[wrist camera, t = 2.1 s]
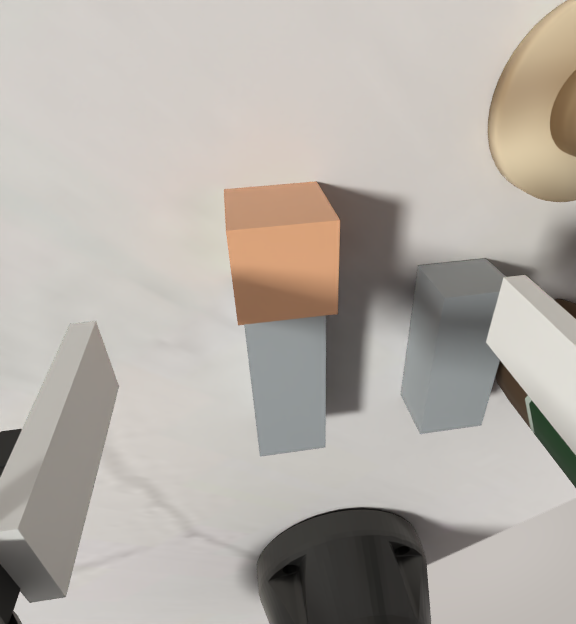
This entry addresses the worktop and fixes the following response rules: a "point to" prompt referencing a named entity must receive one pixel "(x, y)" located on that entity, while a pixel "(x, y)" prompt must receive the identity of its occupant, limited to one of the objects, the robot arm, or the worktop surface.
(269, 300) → the block
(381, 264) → the worktop surface
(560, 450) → the beer bottle
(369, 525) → the robot arm
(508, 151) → the bobbin
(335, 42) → the worktop surface
